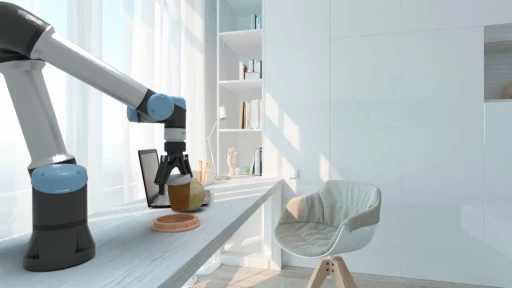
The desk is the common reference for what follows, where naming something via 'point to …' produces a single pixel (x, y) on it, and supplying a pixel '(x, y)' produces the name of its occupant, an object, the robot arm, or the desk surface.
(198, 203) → the fossilized egg
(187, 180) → the disposable coffee cup
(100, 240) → the desk surface
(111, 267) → the desk surface
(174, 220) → the terracotta plant saucer
